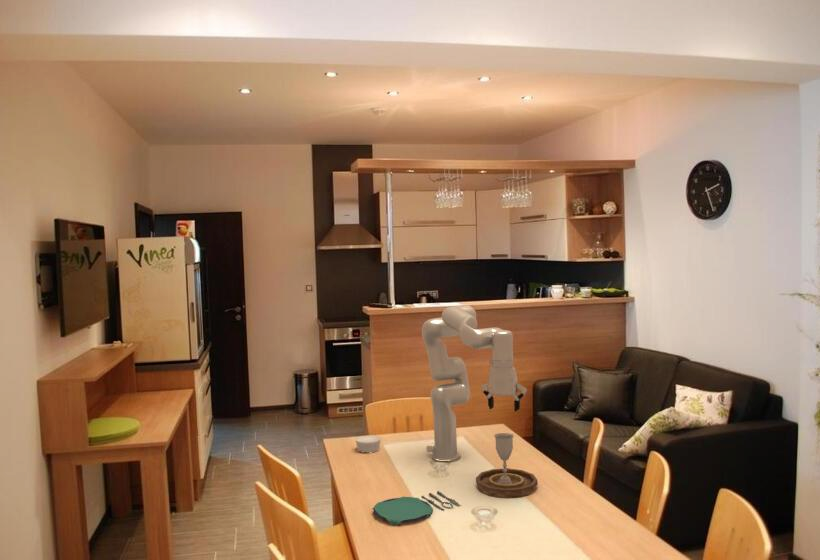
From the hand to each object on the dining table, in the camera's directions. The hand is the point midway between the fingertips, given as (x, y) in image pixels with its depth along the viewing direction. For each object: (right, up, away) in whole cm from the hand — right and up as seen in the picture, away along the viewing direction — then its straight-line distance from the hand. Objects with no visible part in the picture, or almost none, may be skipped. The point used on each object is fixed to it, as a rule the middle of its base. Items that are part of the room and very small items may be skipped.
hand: (503, 409), depth 237 cm
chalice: (+1, -28, +1) cm, 28 cm away
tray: (+1, -29, +1) cm, 29 cm away
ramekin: (-54, -29, +51) cm, 79 cm away
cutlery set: (-33, -32, -17) cm, 49 cm away
